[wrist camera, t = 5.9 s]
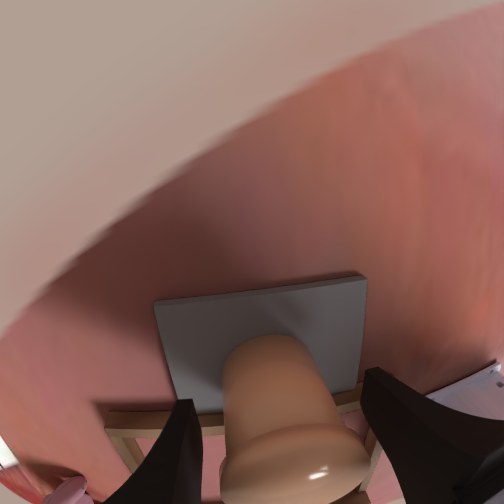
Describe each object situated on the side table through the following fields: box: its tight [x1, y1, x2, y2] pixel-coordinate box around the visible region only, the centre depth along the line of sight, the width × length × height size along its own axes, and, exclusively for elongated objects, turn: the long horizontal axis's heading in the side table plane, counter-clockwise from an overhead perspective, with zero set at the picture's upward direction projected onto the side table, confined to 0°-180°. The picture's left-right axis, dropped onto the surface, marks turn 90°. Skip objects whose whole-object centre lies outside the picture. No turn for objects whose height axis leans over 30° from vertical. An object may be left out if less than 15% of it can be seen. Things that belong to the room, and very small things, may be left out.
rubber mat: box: [153, 275, 368, 414], centre depth 15 cm, size 10×7×1 cm
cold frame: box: [104, 374, 395, 504], centre depth 17 cm, size 18×15×3 cm
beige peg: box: [219, 335, 371, 504], centre depth 12 cm, size 5×5×7 cm
